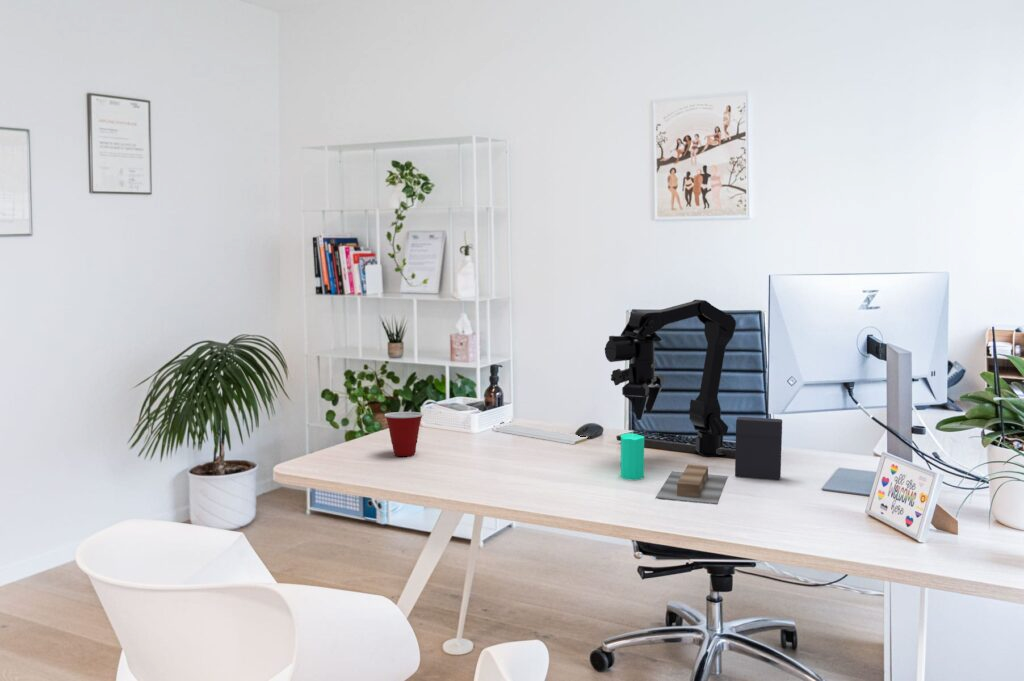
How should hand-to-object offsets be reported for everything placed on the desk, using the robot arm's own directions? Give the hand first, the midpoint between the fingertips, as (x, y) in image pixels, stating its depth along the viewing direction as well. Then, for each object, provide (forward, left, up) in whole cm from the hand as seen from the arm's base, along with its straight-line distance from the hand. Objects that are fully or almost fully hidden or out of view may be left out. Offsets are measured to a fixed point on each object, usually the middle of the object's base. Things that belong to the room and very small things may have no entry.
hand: (643, 416), depth 234 cm
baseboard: (+21, -37, -14) cm, 45 cm away
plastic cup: (+63, -22, -13) cm, 68 cm away
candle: (+7, +13, -13) cm, 20 cm away
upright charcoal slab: (-23, +20, -13) cm, 33 cm away
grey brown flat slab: (-4, +25, -13) cm, 28 cm away
